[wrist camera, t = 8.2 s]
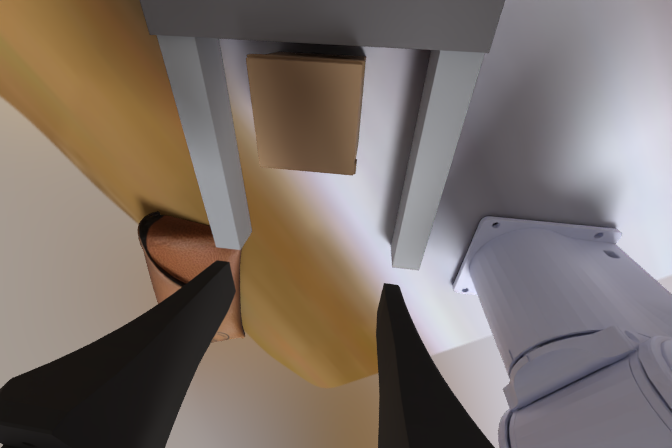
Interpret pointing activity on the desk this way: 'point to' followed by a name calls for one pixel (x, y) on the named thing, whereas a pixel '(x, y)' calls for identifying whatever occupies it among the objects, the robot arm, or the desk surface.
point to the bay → (336, 29)
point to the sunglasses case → (187, 262)
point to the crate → (307, 110)
